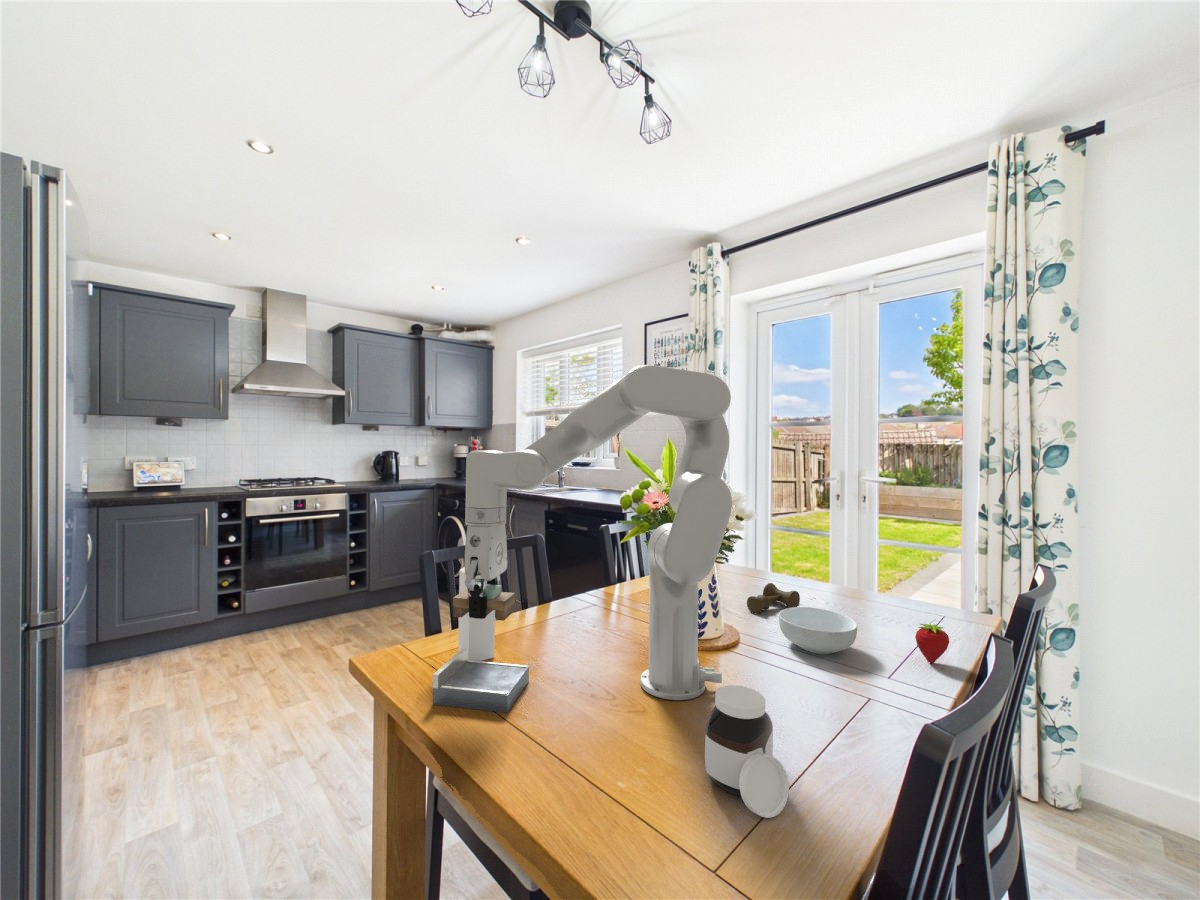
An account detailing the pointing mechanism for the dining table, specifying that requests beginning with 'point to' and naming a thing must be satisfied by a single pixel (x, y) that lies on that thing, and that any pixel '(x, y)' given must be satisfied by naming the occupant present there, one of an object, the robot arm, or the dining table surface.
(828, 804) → the dining table surface
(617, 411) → the robot arm
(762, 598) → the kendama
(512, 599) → the pallet
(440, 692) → the tray
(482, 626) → the milk
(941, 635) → the strawberry
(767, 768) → the spread jar
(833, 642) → the cereal bowl
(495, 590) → the cargo
